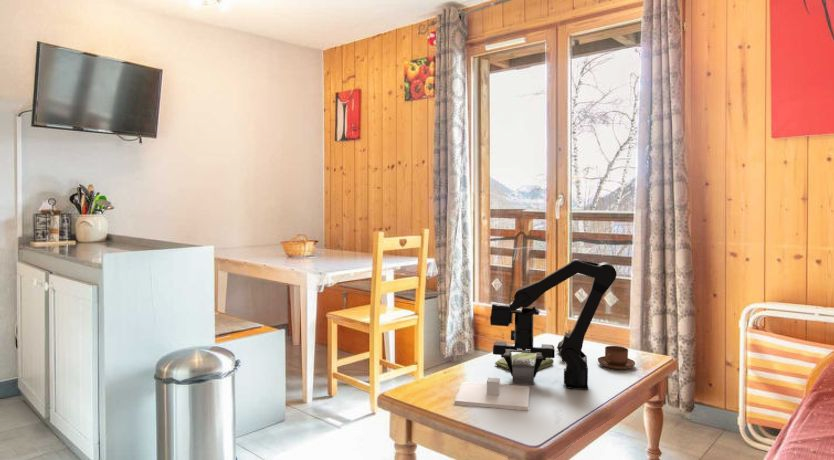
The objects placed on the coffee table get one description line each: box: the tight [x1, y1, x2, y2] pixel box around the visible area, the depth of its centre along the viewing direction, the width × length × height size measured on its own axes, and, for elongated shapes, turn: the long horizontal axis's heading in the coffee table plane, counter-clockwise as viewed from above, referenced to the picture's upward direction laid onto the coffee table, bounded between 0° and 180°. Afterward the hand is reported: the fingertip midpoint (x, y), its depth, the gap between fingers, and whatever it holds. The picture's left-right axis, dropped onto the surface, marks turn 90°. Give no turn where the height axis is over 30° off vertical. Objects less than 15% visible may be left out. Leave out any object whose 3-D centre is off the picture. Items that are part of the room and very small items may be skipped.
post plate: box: [454, 377, 530, 411], centre depth 156 cm, size 20×16×5 cm
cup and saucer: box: [597, 345, 636, 370], centre depth 184 cm, size 12×12×6 cm
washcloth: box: [494, 352, 555, 371], centre depth 185 cm, size 13×18×3 cm
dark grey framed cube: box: [511, 358, 535, 386], centre depth 169 cm, size 6×6×6 cm
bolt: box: [556, 341, 566, 363], centre depth 196 cm, size 6×5×15 cm
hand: (523, 376), depth 169 cm, fingers closed on dark grey framed cube, 6 cm apart
